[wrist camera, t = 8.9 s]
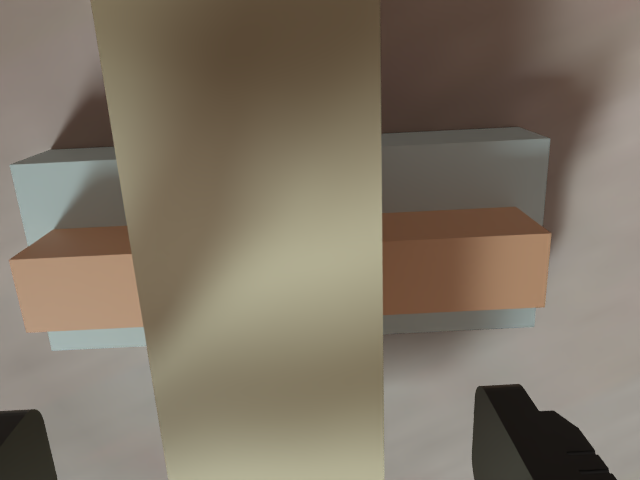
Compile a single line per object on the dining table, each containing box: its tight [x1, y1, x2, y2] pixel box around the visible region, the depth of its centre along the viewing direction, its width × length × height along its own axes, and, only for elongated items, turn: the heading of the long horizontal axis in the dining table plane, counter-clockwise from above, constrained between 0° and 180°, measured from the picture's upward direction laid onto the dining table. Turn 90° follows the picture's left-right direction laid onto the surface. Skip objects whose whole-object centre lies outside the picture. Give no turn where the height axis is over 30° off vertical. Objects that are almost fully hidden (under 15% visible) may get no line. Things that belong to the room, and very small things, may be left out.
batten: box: [91, 0, 384, 480], centre depth 14 cm, size 22×5×5 cm, turn 2°
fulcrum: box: [9, 127, 551, 351], centre depth 20 cm, size 18×7×6 cm, turn 93°
